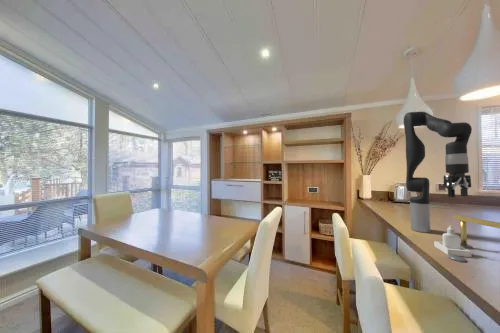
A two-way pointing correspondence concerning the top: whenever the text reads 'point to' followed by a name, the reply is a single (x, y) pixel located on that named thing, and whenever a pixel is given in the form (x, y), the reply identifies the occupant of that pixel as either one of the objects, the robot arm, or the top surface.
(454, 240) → the eye dropper bottle
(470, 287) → the top surface
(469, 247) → the key plate
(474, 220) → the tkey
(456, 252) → the white rectangular frame
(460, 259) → the grey round disc
